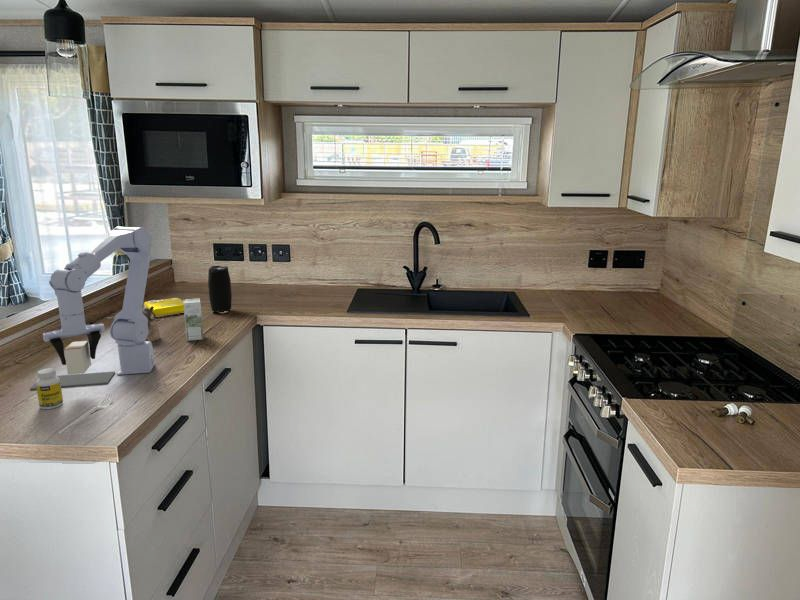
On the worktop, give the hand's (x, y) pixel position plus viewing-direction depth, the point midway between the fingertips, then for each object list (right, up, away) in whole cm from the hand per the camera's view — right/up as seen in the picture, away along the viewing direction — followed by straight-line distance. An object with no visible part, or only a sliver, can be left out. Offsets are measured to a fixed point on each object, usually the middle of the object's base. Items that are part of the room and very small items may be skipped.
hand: (78, 361), depth 156 cm
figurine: (-2, +2, +50) cm, 50 cm away
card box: (0, -2, +1) cm, 2 cm away
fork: (+9, -13, -12) cm, 20 cm away
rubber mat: (-7, -7, +11) cm, 15 cm away
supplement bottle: (-4, -11, -6) cm, 13 cm away
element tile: (-12, +11, +87) cm, 89 cm away
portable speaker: (+12, +11, +87) cm, 89 cm away
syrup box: (+14, +2, +50) cm, 52 cm away
